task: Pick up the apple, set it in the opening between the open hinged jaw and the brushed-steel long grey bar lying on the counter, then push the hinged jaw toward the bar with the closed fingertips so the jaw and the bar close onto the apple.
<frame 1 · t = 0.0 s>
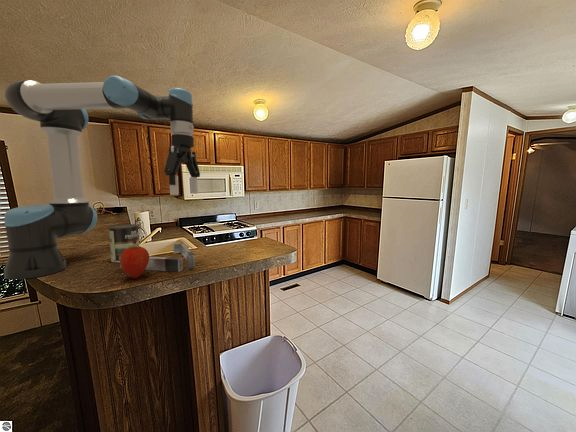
hand: (184, 194, 89), 28 cm above the countertop, fingers open, 13 cm apart
jaw: (183, 253, 101), point 2 cm above the countertop, hinge at 50.0°
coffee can: (126, 259, 100), on the countertop
apple: (136, 278, 81), on the countertop
long grey bar: (190, 269, 89), on the countertop
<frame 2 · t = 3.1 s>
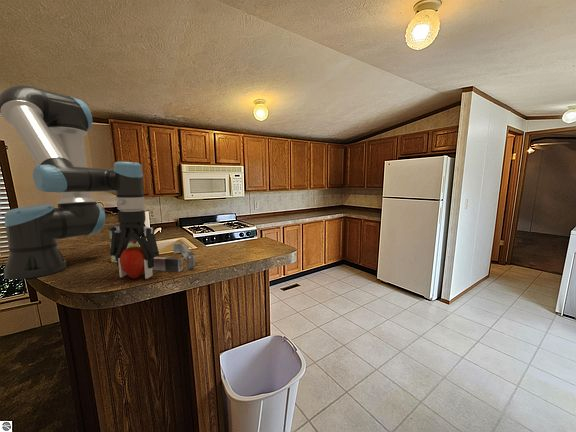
hand: (136, 276, 81), 0 cm above the countertop, fingers closed on apple, 8 cm apart
apple: (136, 278, 81), on the countertop, touching gripper
everything else where it was.
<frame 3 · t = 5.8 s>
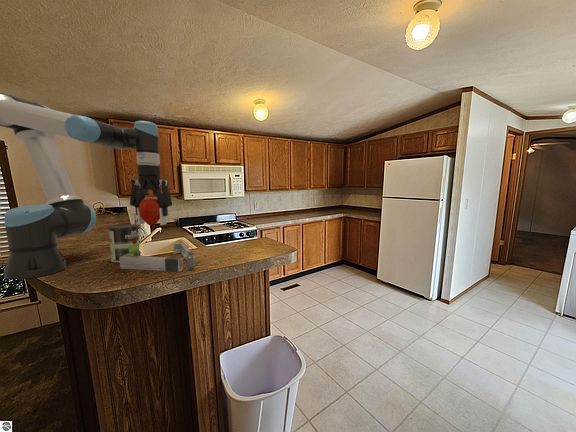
hand: (152, 224, 92), 16 cm above the countertop, fingers closed on apple, 8 cm apart
apple: (152, 225, 92), point 15 cm above the countertop, touching gripper
everything else where it was.
when the fingers open (2 cm above the countertop, at t = 8.4 s): apple drops 1 cm, on the countertop.
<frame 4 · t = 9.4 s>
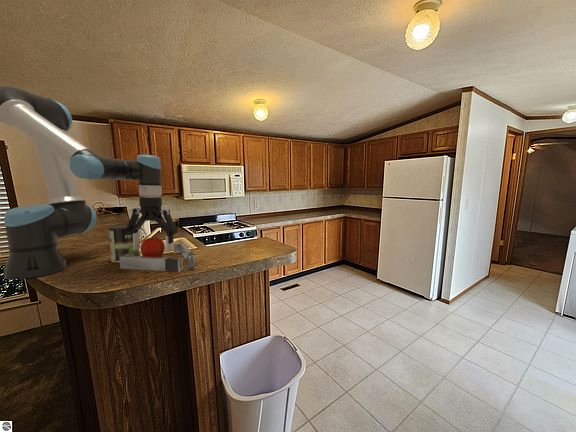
hand: (152, 250, 94), 6 cm above the countertop, fingers open, 13 cm apart
apple: (154, 264, 95), on the countertop
everything else where it was.
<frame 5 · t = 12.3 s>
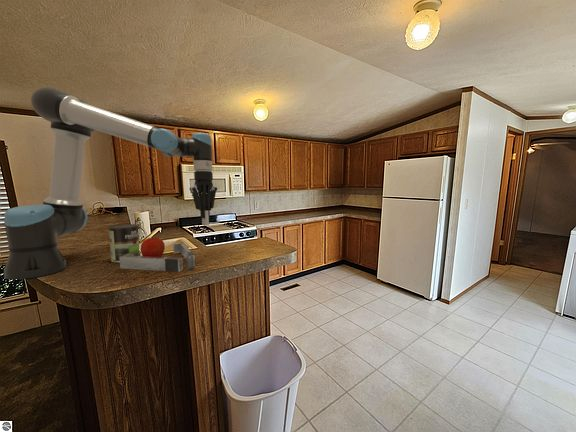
hand: (205, 225, 105), 14 cm above the countertop, fingers closed
nothing on the countertop moved.
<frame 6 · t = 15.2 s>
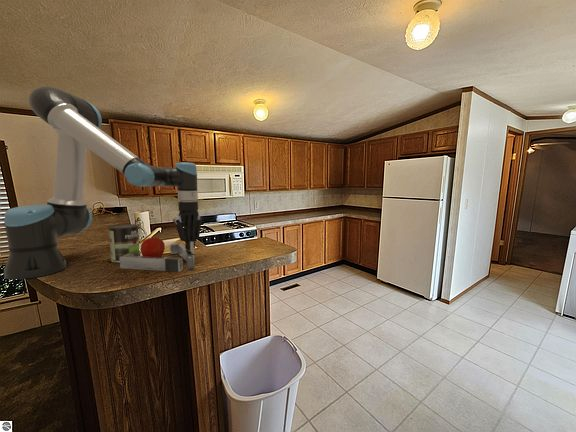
hand: (190, 256, 101), 1 cm above the countertop, fingers closed
jaw: (181, 253, 100), point 2 cm above the countertop, hinge at 47.0°, touching gripper
everything else where it was.
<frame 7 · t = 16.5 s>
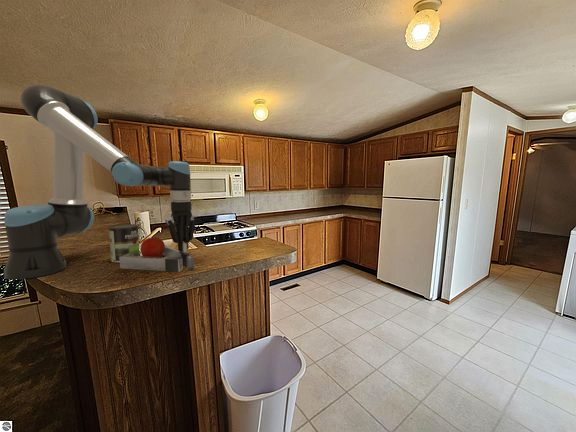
hand: (183, 258, 98), 1 cm above the countertop, fingers closed
jaw: (172, 255, 98), point 2 cm above the countertop, hinge at 32.6°, touching gripper
everything else where it was.
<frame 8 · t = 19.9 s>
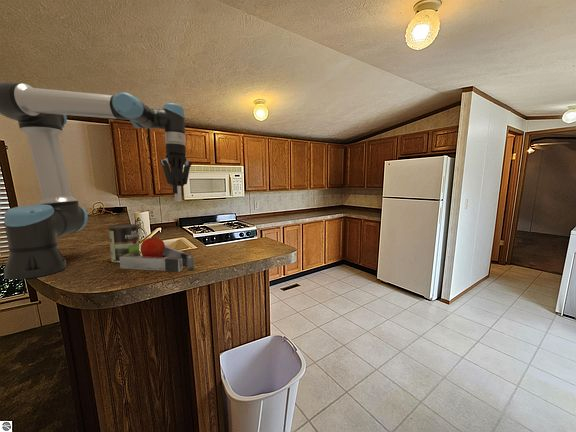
hand: (178, 201, 101), 24 cm above the countertop, fingers closed
jaw: (172, 255, 98), point 2 cm above the countertop, hinge at 32.6°
everything else where it was.
at the end: jaw at +33° (first picture: +50°); apple inside the target area (0.4 cm from its centre), on the countertop; the gripper is holding nothing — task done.
